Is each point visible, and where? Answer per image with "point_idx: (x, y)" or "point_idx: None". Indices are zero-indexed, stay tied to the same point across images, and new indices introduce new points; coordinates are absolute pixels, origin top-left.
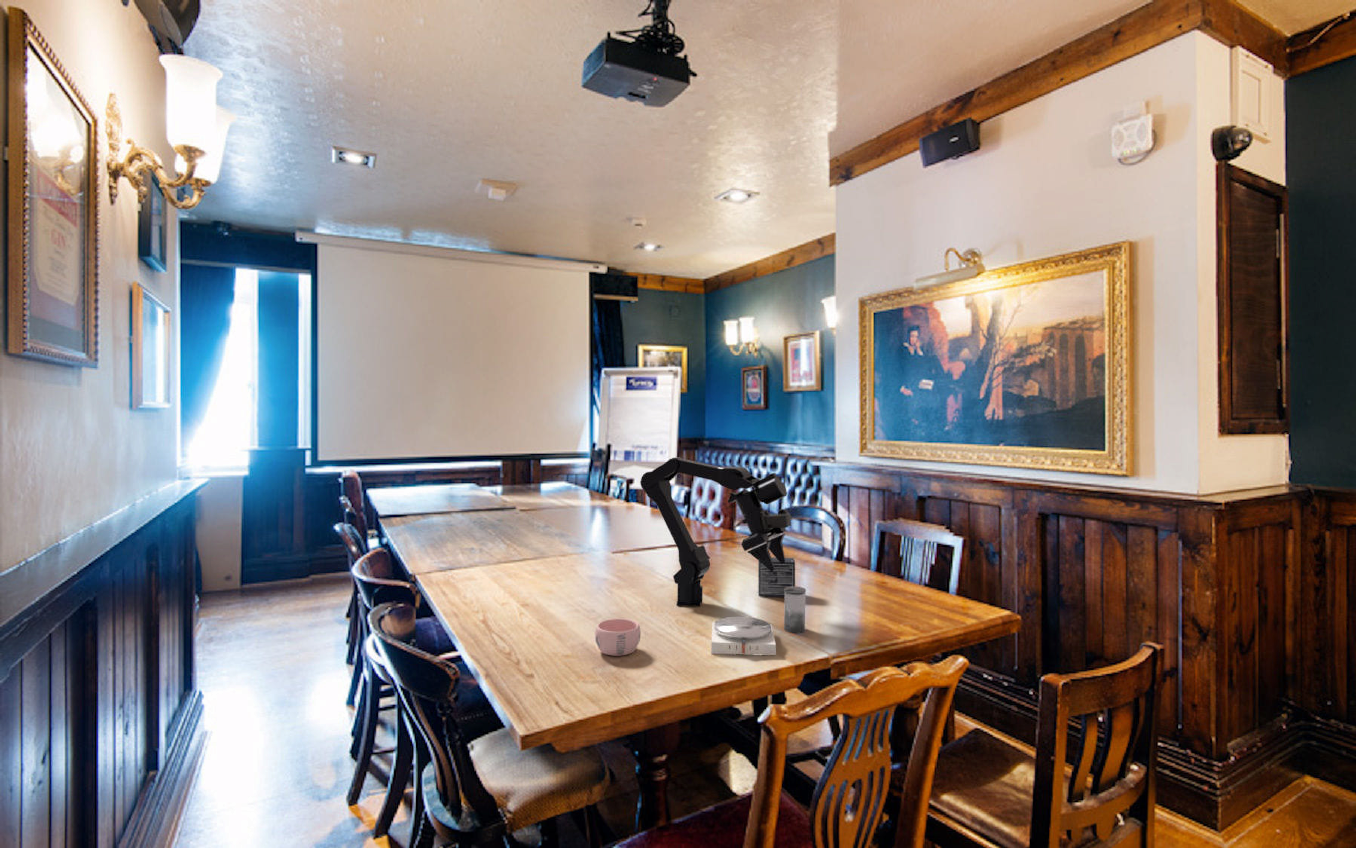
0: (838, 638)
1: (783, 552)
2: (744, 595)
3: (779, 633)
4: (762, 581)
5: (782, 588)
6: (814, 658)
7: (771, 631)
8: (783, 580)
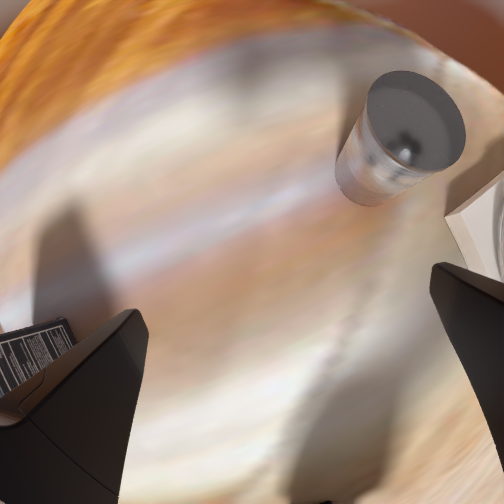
0: (343, 57)
1: (72, 352)
2: (139, 454)
3: (422, 199)
4: None
5: None
6: (481, 80)
7: (500, 184)
8: (46, 365)
